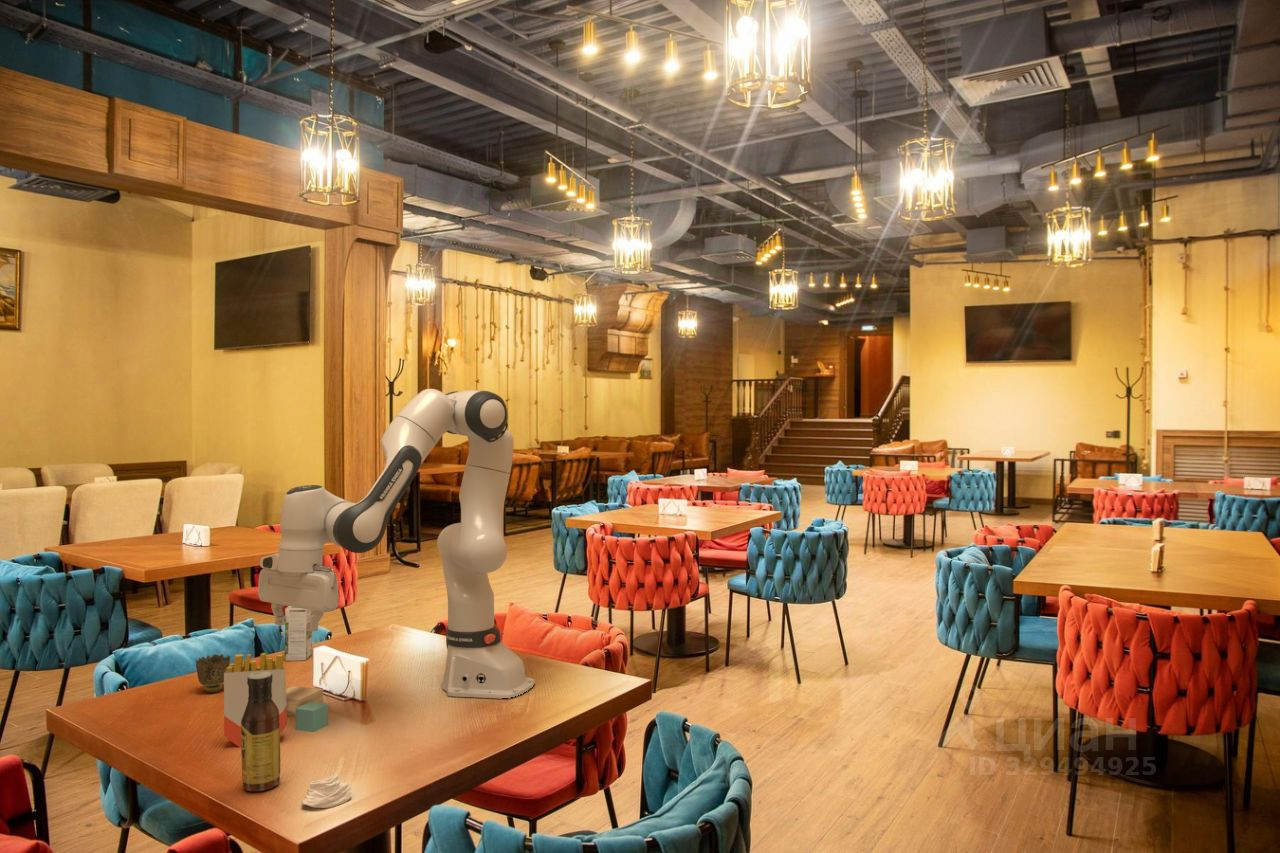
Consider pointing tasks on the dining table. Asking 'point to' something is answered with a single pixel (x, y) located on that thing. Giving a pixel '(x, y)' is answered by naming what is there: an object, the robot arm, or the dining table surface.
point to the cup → (212, 671)
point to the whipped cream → (327, 793)
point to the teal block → (311, 716)
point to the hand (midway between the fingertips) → (295, 627)
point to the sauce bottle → (260, 736)
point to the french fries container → (239, 693)
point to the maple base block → (301, 697)
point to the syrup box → (297, 634)
